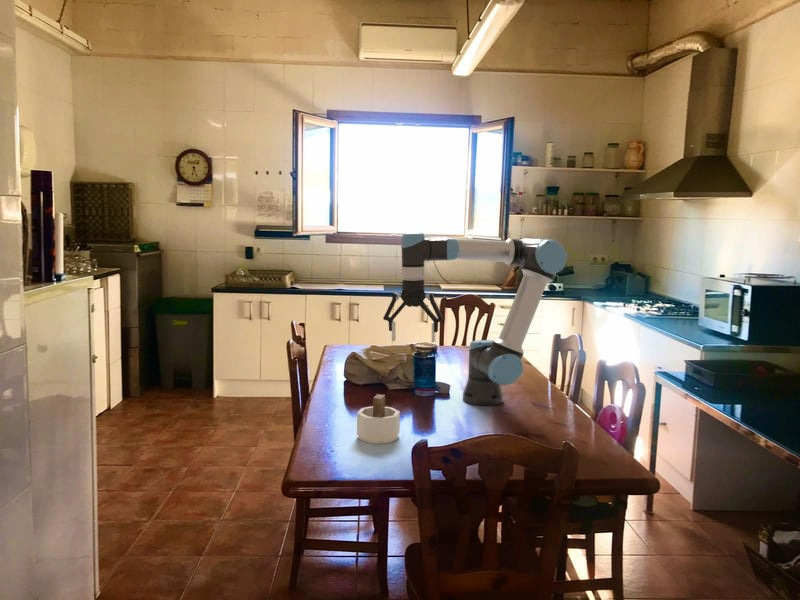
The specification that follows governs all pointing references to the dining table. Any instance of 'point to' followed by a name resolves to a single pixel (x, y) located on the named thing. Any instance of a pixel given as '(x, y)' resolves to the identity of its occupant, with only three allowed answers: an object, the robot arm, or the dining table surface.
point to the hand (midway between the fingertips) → (413, 341)
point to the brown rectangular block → (379, 406)
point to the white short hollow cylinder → (378, 426)
